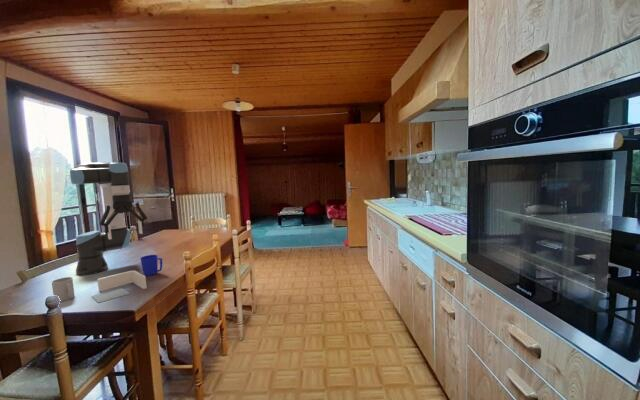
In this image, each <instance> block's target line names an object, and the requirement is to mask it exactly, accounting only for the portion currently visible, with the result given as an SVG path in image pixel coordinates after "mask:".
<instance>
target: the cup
mask: <svg viewBox="0 0 640 400" xmlns="http://www.w3.org/2000/svg"><path fill="white" fill-rule="evenodd" d="M73 280H74V279H73V276H67V277H60V278H57V279H55V280H52V281H51V287H52V295H57V296H59V298H60V300H61V302H65V301H69V300H71V299H73V298H74V297H75V289H74V281H73Z"/></svg>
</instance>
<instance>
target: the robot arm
mask: <svg viewBox="0 0 640 400" xmlns="http://www.w3.org/2000/svg"><path fill="white" fill-rule="evenodd" d="M69 175H70V181H71V182H70V183H71V184H72V185H87V184H89V185H90V184H98V186H100V187H101V189H102V196H103V197H102V198H103V206H104V213H103V214H102V216H101V219H100V221H99V224H98V225H99V226H103V227H104V229H103V231H104V232H101V231H100V230H93V231H88V232H84V233H80V234H79V235H77V236H76V239H75V245H76V249H77V259H78V261H77V265H76V268H75V274H76V275H77V276H85V275H92V274H93V275H94V274H96V273H97V274H98V273H101V272H104V271H106V270H107V269H108V268H109V265H108V262H107V261H106V260H105V258H104V253H105V252H108V251H115V250H121V249H122V250H123V249H125V248H128V247H129V246H130V244H131V235H132V234H131V229H129V228H128V227H127V225H126V224H124V217H123V213H130V214H131V215H132V216H134V217H135V218H136V219H137V220H138V221H137V226H138V234H140V235H143V234H144V233H143V228H144V227H145V225H144V221H146V220H148V217H147V215H146V213H145V212H144V211H143V209H142V208H141V207H140V204H139V202H133V203H132V197H131V194H130V193H131V190H130V189H131V187H130V181H129V168H128V165H127V163H126V162H109V161H108V162H105V161H104V162H85V163H79V164H77V165H75V166H74V167H73V168H71V169H70V170H69ZM132 207H134V208H135V209H136V211H137V212H138V213H139V214H138V213H137V212H135V211H134V210H133V209H132ZM103 252H104V253H103Z"/></svg>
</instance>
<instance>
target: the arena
mask: <svg viewBox="0 0 640 400" xmlns="http://www.w3.org/2000/svg"><path fill="white" fill-rule="evenodd" d="M96 280H97V287H98V291H99V292H103V291H107V290H111V289H114V288H116V287H117V288H119V287H121V286H125V285H129V284H132V283H133V284H135V285H136V286H138V287H139V288H141V289H142V290H144V289H145V290H146V289H147V278H146V275H144V274H143V273H140V272H138V271H136V270H135V269H133V270H129V271H124V272H120V273H116V274H112V275H108V276H104V277H100V278H97V279H96Z"/></svg>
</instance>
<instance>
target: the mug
mask: <svg viewBox="0 0 640 400" xmlns="http://www.w3.org/2000/svg"><path fill="white" fill-rule="evenodd" d="M158 260H159V266H158ZM140 264H141V267H142V272H143V273H142V274H143V275H144V276H145V277H146V276H153V275H156V274H157V273H158V272H161V271H162V269H163V258H162V257H158V254H149V255H144V256H141V257H140ZM158 267H159V269H158Z"/></svg>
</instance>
